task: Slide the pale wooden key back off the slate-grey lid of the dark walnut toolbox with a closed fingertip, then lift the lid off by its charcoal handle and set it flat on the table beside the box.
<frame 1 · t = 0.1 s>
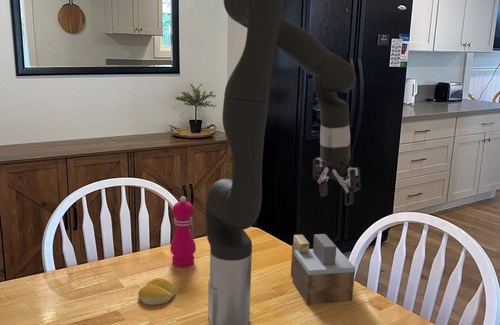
hand: (336, 200, 131), 22 cm above the table, tool pointing down, fingers open, 8 cm apart
pepper mill: (183, 263, 142), on the table
toolbox: (321, 290, 128), on the table
lid: (323, 266, 127), point 7 cm above the table, touching toolbox
bread roll: (157, 297, 123), on the table
wooden key: (301, 243, 131), point 11 cm above the table, slide at 0.0 cm
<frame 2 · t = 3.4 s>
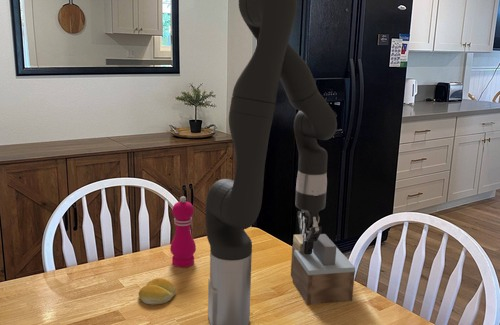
hand: (307, 253, 127), 10 cm above the table, tool pointing down, fingers closed
wooden key: (301, 243, 131), point 11 cm above the table, slide at 0.2 cm, touching gripper
everything else where it was.
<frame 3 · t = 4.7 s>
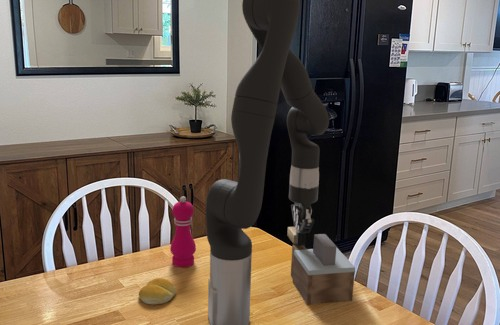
hand: (300, 244, 132), 10 cm above the table, tool pointing down, fingers closed
wooden key: (294, 235, 137), point 11 cm above the table, slide at 5.8 cm, touching gripper
everything else where it was.
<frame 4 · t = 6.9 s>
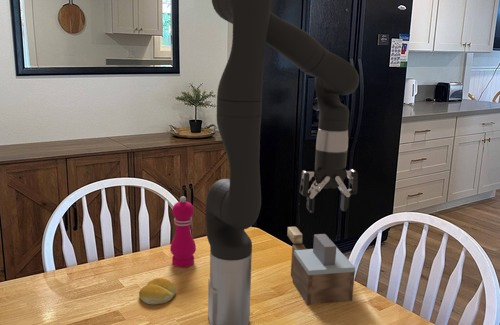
hand: (327, 211, 123), 22 cm above the table, tool pointing down, fingers open, 8 cm apart
wooden key: (294, 235, 137), point 11 cm above the table, slide at 5.9 cm
everything else where it was.
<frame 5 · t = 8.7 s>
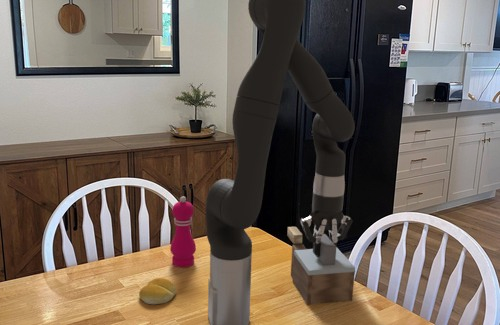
hand: (323, 255, 126), 10 cm above the table, tool pointing down, fingers closed on lid, 3 cm apart
lid: (323, 266, 127), point 7 cm above the table, touching gripper, toolbox
everything else where it was.
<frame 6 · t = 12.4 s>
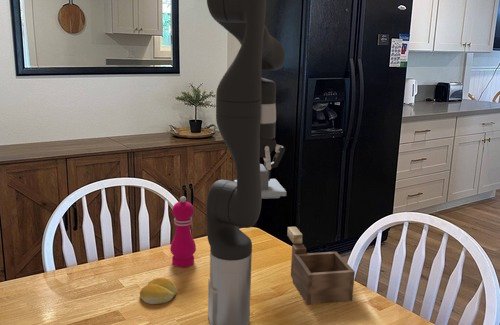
hand: (259, 182, 134), 25 cm above the table, tool pointing down, fingers closed on lid, 3 cm apart
lid: (259, 193, 135), point 22 cm above the table, touching gripper
everything else where it was.
when the fingers open (5 cm above the table, at t = 15.8 s): lid drops 2 cm, on the table.
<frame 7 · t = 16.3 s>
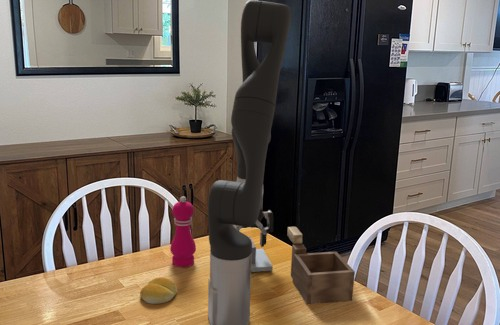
hand: (247, 246, 141), 6 cm above the table, tool pointing down, fingers open, 8 cm apart
lid: (247, 265, 142), on the table
everything else where it was.
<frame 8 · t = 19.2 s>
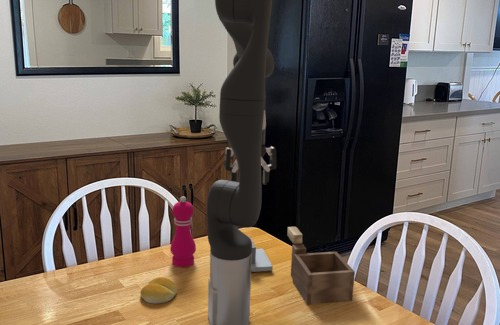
hand: (249, 184, 136), 24 cm above the table, tool pointing down, fingers open, 8 cm apart
nothing on the table moved.
at the end: wooden key slide at 5.9 cm; lid inside the target area (0.0 cm from its centre), on the table; lid tilted 0° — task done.
